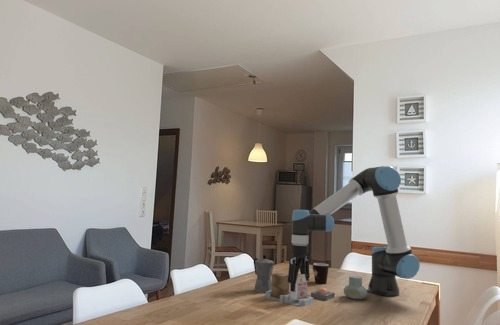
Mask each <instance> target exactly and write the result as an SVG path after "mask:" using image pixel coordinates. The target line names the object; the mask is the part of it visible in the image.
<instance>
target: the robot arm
mask: <svg viewBox="0 0 500 325" xmlns="http://www.w3.org/2000/svg"><path fill="white" fill-rule="evenodd" d="M401 181H402V179H401V174H400V173H399V171H398V170H397V169H396V168H395V167H393V166H391V165H390V166H388V165H382V166H375V167H368V168H365V169H364V170H362V171H360V172H359V173H357V174H356V175H355V176H354V177H352V178H350V179H349V180H348V183H347V184H345V185H344V186H343V187H342V188H340V189H339V190H338V191H336V192H335V193H332V194H331V195H330V196H329V197H328V198H326V199H325V200H323V201H322V202H320V203H319V204H318V205H316V206H315V207H313V208H312V209H310V210H309V209H293V211H292V214H291V215H292V216H291V249H290V250H291V251H290V252H291V254H293V255H292V256H293V257H292V258H289V259H288V262H289V267H288V273H287V275H288V282H289V284H290V283H291V296H290V298H291V299H295V300H296V299H297V284H296V281H297V276H298V274H305V278H306V281H307V282H309V281H310V279H311V278H310V256H308V254H309V235H310V234H309V233H310V232H332V231H333V230H334V228H335V219H334V217H333V216H332V215H333V214H334V213H335V212H337V211H338V210H340V209H341V208H342V207H343V206H345V205H347V204H348V203H349V202H350V201H352V200H353V199H355V198H357V196H362V195H364V194H366V193H368V192H372V195H373V197H374V198H376V199H377V202H378V206H379V212H380V217H381V222H382V225H383V230H384V235H385V239H386V242H387V243H386V244H387V246H374V247H372V250H371V253H370V254H371V277H370V280H369V282H368V285H367V286H368V287H367V292H369V293H371V294H374V295H379V296H383V297H384V296H385V297H386V296H387V297H395V296H399V295H400V288H399V284H398V282H397V277H399V278H401V279H406V280H407V279H409V280H410V279H412V278H414V277H415V276H417V274H418V272H419V271H420V267H421V265H420V264H421V262H420V260H419V258H418V257H417V256H416V255H415V254H413V251H412V248H411V246H410V245H408V244H407V240H406V236H405V232H404V231H405V230H404V227H403V222H402V216H401V212H400V209H399V203H398V199H397V195H398V193H399V187H400V185H401V183H402V182H401ZM306 255H307V256H306Z"/></svg>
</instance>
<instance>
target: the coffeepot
mask: <svg viewBox="0 0 500 325" xmlns="http://www.w3.org/2000/svg"><path fill="white" fill-rule="evenodd" d="M274 264H275V261H273V260H270V259H267V255H266V254H264V255H262V259H261V258H259V257H255V258H254V259H253V267H254V274H255V275H256V280H255V283H254V287H253V288H254V289H253V290H254V292H255V293H259V294H266V291H270V290H271V287H272V274H273V270H274Z"/></svg>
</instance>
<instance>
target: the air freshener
mask: <svg viewBox="0 0 500 325" xmlns="http://www.w3.org/2000/svg"><path fill="white" fill-rule="evenodd" d="M348 277H349V278H348V284H347V285H346V286H344V288H343V294H344V295H345V296H346V297H347V298H349V299H351V300H353V301H354V300H355V301H357V300H362V299H365V298H366V297H367V296H368V289H367V288H366V287H364V286H363V277H362V276H359V275H349V276H348Z"/></svg>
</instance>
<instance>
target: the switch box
mask: <svg viewBox="0 0 500 325" xmlns="http://www.w3.org/2000/svg"><path fill="white" fill-rule="evenodd" d="M318 291H319V289H317V290H315V291H311V292H310V297H312V298H313V299H319V300H321V301H329V300H331V299H334V298H335V296H336V295H335V292H332V291H328V290H327V294H320V293H318Z"/></svg>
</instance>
